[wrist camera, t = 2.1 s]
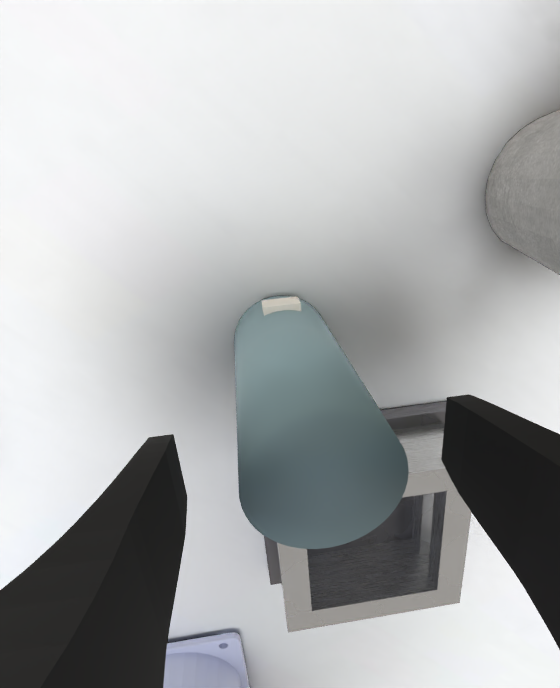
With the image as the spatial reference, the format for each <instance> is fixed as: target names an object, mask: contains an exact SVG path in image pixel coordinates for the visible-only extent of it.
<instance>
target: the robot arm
mask: <svg viewBox="0 0 560 688" xmlns="http://www.w3.org/2000/svg"><path fill="white" fill-rule="evenodd" d="M441 460H442V462H443V464H444V466H445V468H446V470H447V472H448V474H449V476H450V478H451V480H452V482H453V484H454V486H455V487H456V489H457V491H458V493H459V494H460V496H461V497H462V499H463V500H464V502H465V503H466V505H467V506H468V508H469V509H470V510H471V512H472V513H473V515H474V516H475V518H476V519H477V520H478V522H479V523H480V525H481V526H482V528H483V529H484V530H485V532H486V533H487V535H488V536H489V537H490V539H491V540H492V542H493V543H494V544H495V546H496V547H497V549H498V550H499V551H500V553H501V554H502V556H503V557H504V558H505V560H506V561H507V563H508V564H509V565H510V567H511V568H512V570H513V571H514V573H515V574H516V576H517V577H518V579H519V580H520V582H521V583H522V585H523V586H524V588H525V590H526V591H527V593H528V595H529V596H530V598H531V600H532V602H533V603H534V605H535V607H536V608H537V610H538V612H539V614H540V615H541V617H542V619H543V620H544V622H545V624H546V626H547V627H548V629H549V631H550V633H551V634H552V636H553V638H554V640H555V642H556V644H557V645H558V647H559V649H560V434H558V433H555V432H553V431H551V430H549V429H546V428H544V427H542V426H540V425H537V424H535V423H533V422H531V421H529V420H526V419H524V418H522V417H520V416H518V415H515V414H513V413H511V412H509V411H507V410H505V409H502V408H500V407H498V406H496V405H494V404H491V403H489V402H487V401H484V400H482V399H479V398H477V397H474V396H471V395H462V396H455V397H447V401H446V412H445V423H444V435H443V446H442V457H441ZM186 513H187V494H186V489H185V485H184V480H183V476H182V471H181V467H180V462H179V458H178V453H177V449H176V444H175V440H174V435H173V434H172V435H164V436H157V437H150V438H148V439H147V441H146V442H145V443H144V444H143V445H142V446H141V448H140V449H139V450H138V451H137V453H136V454H135V455H134V456H133V457H132V459H131V460H130V461H129V462H128V464H127V465H126V466H125V467H124V469H123V470H122V471H121V472H120V473H119V475H118V476H117V477H116V478H115V479H114V481H113V482H112V483H111V484H110V485H109V486H108V488H107V489H106V490H105V491H104V492H103V493H102V495H101V496H100V497H99V498H98V499H97V500H96V501H95V502H94V503H93V504H92V506H91V507H90V508H89V509H88V510H87V511H86V512H85V513H84V514H83V515H82V516H81V517H80V518H79V520H78V521H77V522H76V523H75V524H74V525H73V526H72V527H71V528H70V529H69V530H68V531H67V532H66V533H65V534H64V535H63V536H62V537H61V538H60V539H59V540H58V541H57V542H56V543H55V544H54V545H52V546H51V547H50V548H49V549H48V550H47V551H46V552H45V553H44V554H43V555H41V556H40V557H39V558H38V559H37V560H36V561H35V562H34V563H33V564H32V565H30V566H29V567H28V568H27V569H26V570H25V571H24V572H22V573H21V574H20V575H19V576H17V577H16V578H15V579H14V580H12V581H11V582H10V583H9V584H8V585H6V586H5V587H4V588H3V589H1V590H0V688H250V685H249V680H248V675H247V669H246V664H245V659H244V653H243V648H242V643H241V638H240V635H239V634H237V633H235V632H231V633H225V634H219V635H213V636H208V637H202V638H196V639H190V640H184V641H178V642H172V643H167V641H168V634H169V627H170V621H171V615H172V610H173V604H174V598H175V592H176V587H177V581H178V575H179V569H180V564H181V558H182V552H183V546H184V540H185V531H186Z"/></svg>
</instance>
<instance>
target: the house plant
mask: <svg viewBox="0 0 560 688" xmlns="http://www.w3.org/2000/svg"><path fill="white" fill-rule="evenodd" d="M485 202H486V214H487V217H488V220H489V222H490V225H491V228H492V229H493V231H494V232H495V233H496V235H497V236H498V237H499V238H500V240H502V241H503V242H505V243H507V244H508V245H510V246H512V247H513V248H515V249H517V250H519V251H520V252H522V253H524V254H525V255H527V256H529V257H530V258H532V259H534V260H535V261H537V262H539V263H540V264H542V265H544V266H545V267H547V268H549V269H550V270H552V271H554V272H556V273H557V274H559V275H560V110H558V111H555V112H553V113H551V114H548V115H546V116H543V117H541V118H539V119H537V120H535V121H533V122H532V123H530V124H529V125H527V126H525V127H524V128H522V129H521V130H520V131H519V132H518V133H517V134H516V135H515V136H514V137H513V138H512V139H511V140H510V141H509V142H507V143H506V145H505V146H504V148H503V150H502V151H501V153H500V154H499V156H498V157H497V159H496V160H495V162H494V165H493V168H492V170H491V173H490V175H489V178H488V182H487V188H486V195H485Z"/></svg>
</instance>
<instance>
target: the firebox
mask: <svg viewBox="0 0 560 688" xmlns="http://www.w3.org/2000/svg"><path fill="white" fill-rule="evenodd" d="M380 411H381V412H382V414H383V416H384V417H385V419H386V420H387V422H388V424H389V425H390V427H391V428H392V430H393V431H394V433H395V435H396V436H397V438H398V439H399V441H400V443H401V444H402V446H403V448H404V450H405V453H406V456H407V461H408V471H409V474H408V482H407V485H406V489H405V492H404V494H403V496H402V499H401V500H400V502H399V504H398V505H397V507H396V508H395V510H394V511H393V512H392V513H391V515H390V516H389V517H388V518H387V519H386V520H385V521H384V522H383V523H381V524H380V525H379V526H378V527H377V528H375V529H374V530H372V531H371V532H369V533H368V534H366V535H364V536H362V537H360V538H358V539H356V540H354V541H351V542H349V543H346V544H342V545H339V546H334V547H330V548H322V549H303V548H295V547H290V546H286V545H283V544H280V543H277V542H275V541H273V540H271V539H269V538H268V537H266V536H264V538H265V546H266V553H267V561H268V568H269V576H270V583H271V585H272V584H278V583H282V589H283V597H284V604H285V612H286V620H287V628H288V632H293V631H299V630H304V629H310V628H316V627H322V626H328V625H333V624H339V623H345V622H351V621H357V620H362V619H368V618H374V617H380V616H386V615H391V614H397V613H403V612H409V611H414V610H420V609H426V608H432V607H438V606H443V605H449V604H455V603H460V596H461V588H462V580H463V572H464V565H465V557H466V549H467V541H468V534H469V526H470V518H471V510H470V509H469V508H468V506H467V505H466V503H465V502H464V500H463V499H462V497H461V496H460V494H459V493H458V491H457V489H456V487H455V486H454V484H453V482H452V480H451V478H450V476H449V474H448V472H447V470H446V468H445V466H444V464H443V462H442V460H441V457H442V446H443V435H444V423H445V412H446V401H444V402H436V403H429V404H422V405H414V406H407V407H400V408H392V409H385V410H380Z"/></svg>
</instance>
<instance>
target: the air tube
mask: <svg viewBox="0 0 560 688" xmlns="http://www.w3.org/2000/svg"><path fill="white" fill-rule="evenodd" d="M234 349H235V381H236V413H237V444H238V476H239V498H240V502H241V506H242V509H243V511H244V513H245V515H246V517H247V518H248V520H249V522H250V523H251V524H252V525H253V526H254V527H255V528H256V529H257V530H258V531H259V532H260V533H262V534H263V535H264V536H266V537H268V538H269V539H271V540H273V541H275V542H277V543H280V544H283V545H286V546H290V547H295V548H303V549H322V548H330V547H334V546H339V545H342V544H346V543H349V542H351V541H354V540H356V539H358V538H360V537H362V536H364V535H366V534H368V533H369V532H371V531H372V530H374V529H375V528H377V527H378V526H379V525H380V524H381V523H383V522H384V521H385V520H386V519H387V518H388V517H389V516H390V515H391V513H392V512H393V511H394V510H395V508H396V507H397V505H398V504H399V502H400V500H401V499H402V496H403V494H404V492H405V489H406V485H407V482H408V474H409V471H408V461H407V456H406V453H405V450H404V448H403V446H402V444H401V443H400V441H399V439H398V438H397V436H396V435H395V433H394V431H393V430H392V428H391V427H390V425H389V424H388V422H387V420H386V419H385V417H384V416H383V414H382V412H381V411H380V409H379V408H378V406H377V405H376V403H375V401H374V400H373V398H372V397H371V395H370V393H369V392H368V390H367V389H366V387H365V386H364V384H363V382H362V381H361V379H360V378H359V376H358V374H357V373H356V371H355V370H354V368H353V367H352V365H351V363H350V362H349V360H348V359H347V357H346V355H345V354H344V352H343V351H342V349H341V348H340V346H339V344H338V343H337V341H336V340H335V338H334V336H333V335H332V333H331V332H330V330H329V329H328V327H327V325H326V324H325V322H324V321H323V319H322V317H321V316H320V314H319V313H318V312H317V310H316V309H315V308H314V307H313V306H311V305H310V304H309V303H307V302H305V301H303V300H302V299H299V298H298V297H297V296H296V297H292V296H273V297H269V298H266V299H263V300H261V301H259V302H257V303H256V304H254V305H253V306H251V307H250V308H249V309H248V310H247V311H246V312H245V313H244V314H243V316H242V317H241V319H240V321H239V322H238V325H237V327H236V331H235V337H234Z"/></svg>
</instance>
